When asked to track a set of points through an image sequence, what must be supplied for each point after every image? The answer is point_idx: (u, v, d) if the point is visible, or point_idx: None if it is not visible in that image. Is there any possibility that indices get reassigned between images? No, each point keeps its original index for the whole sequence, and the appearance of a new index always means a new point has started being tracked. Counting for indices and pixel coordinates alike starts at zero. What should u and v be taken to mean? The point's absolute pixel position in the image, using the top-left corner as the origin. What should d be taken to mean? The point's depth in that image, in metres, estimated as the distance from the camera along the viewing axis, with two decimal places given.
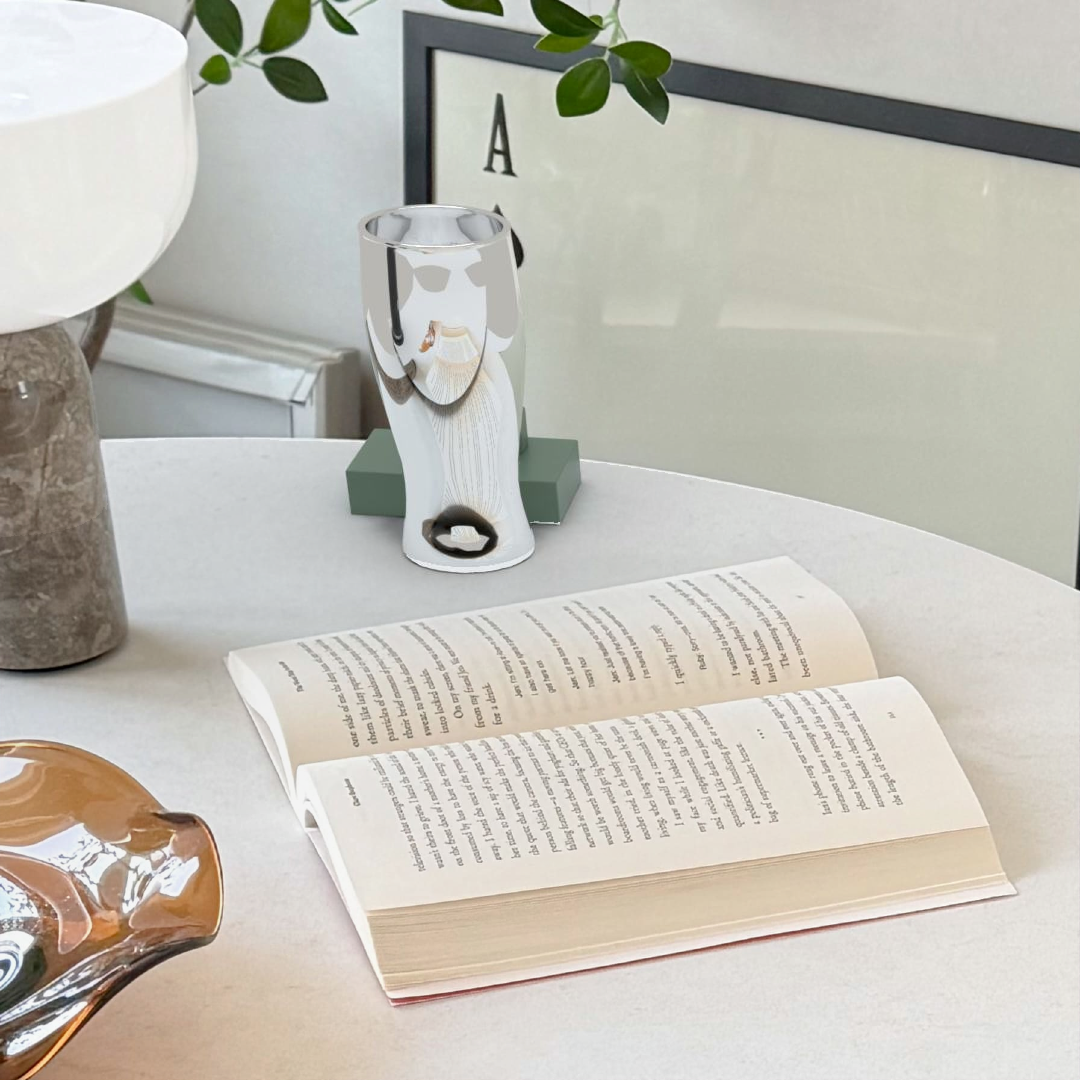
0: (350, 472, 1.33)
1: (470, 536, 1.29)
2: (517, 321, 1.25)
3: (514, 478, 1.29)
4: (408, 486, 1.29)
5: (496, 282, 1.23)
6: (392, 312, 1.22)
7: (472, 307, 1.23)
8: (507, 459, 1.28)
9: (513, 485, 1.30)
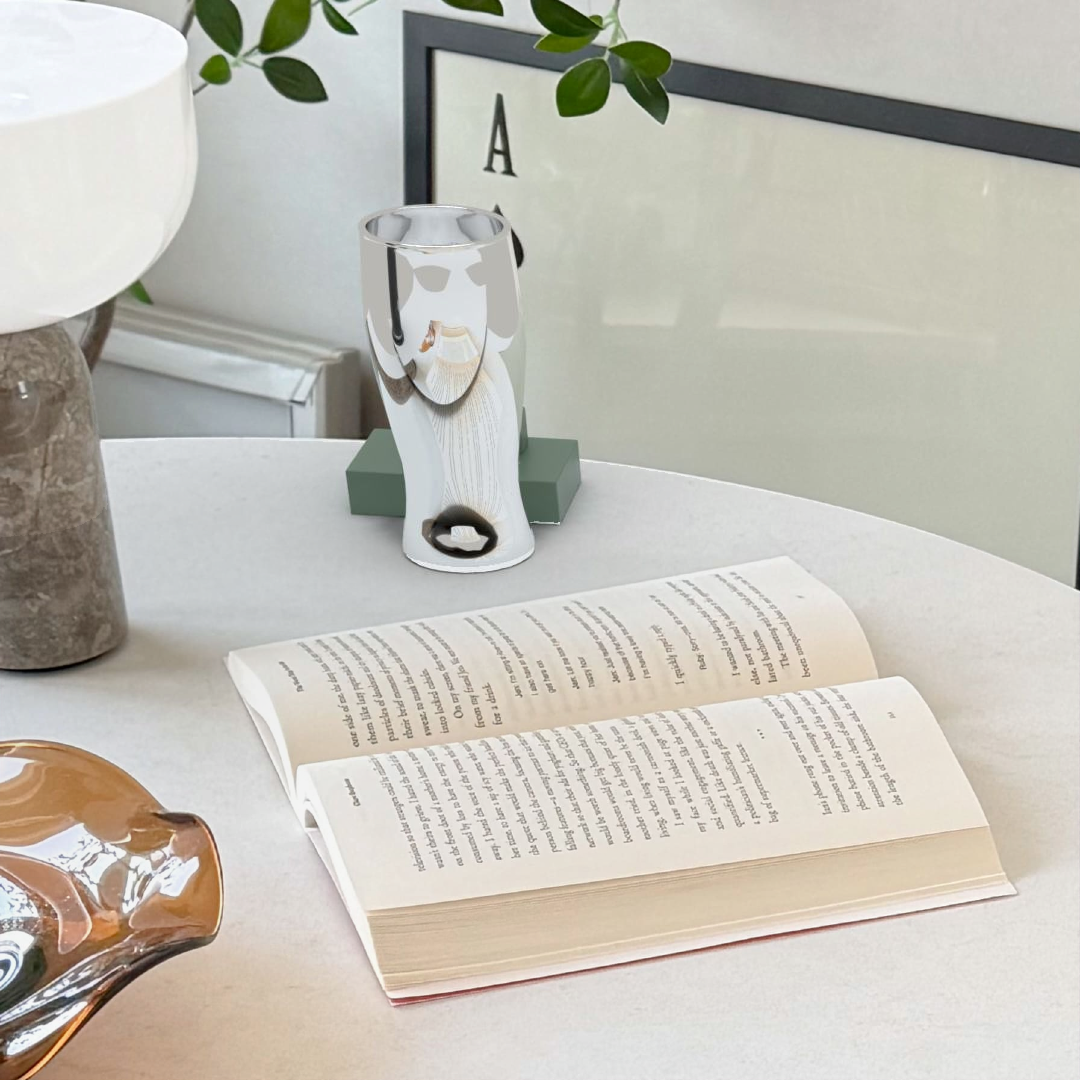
0: (350, 472, 1.33)
1: (470, 536, 1.29)
2: (517, 321, 1.25)
3: (514, 478, 1.29)
4: (408, 486, 1.29)
5: (496, 282, 1.23)
6: (392, 312, 1.22)
7: (472, 307, 1.23)
8: (507, 459, 1.28)
9: (513, 485, 1.30)
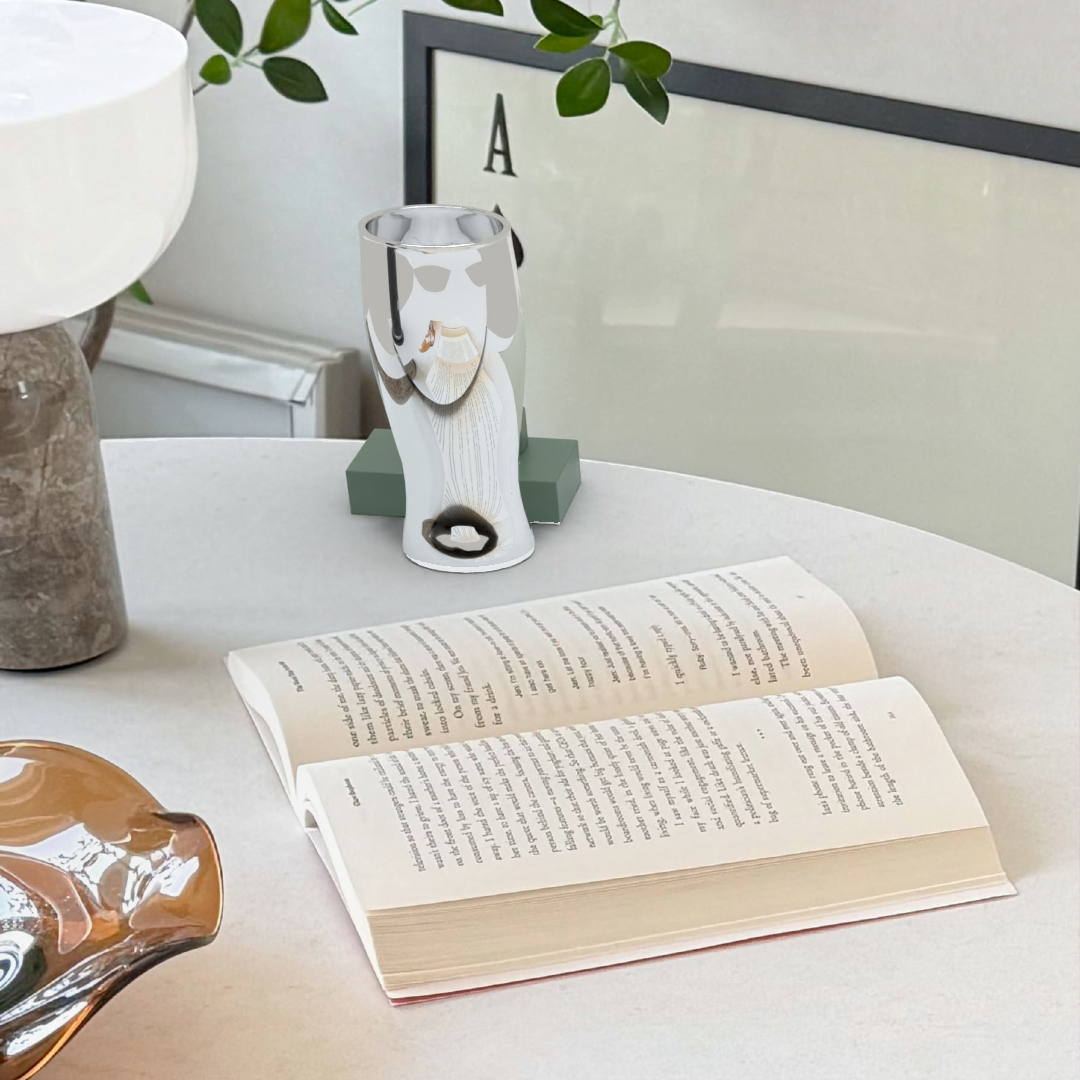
0: (350, 472, 1.33)
1: (470, 536, 1.29)
2: (517, 321, 1.25)
3: (514, 478, 1.29)
4: (408, 486, 1.29)
5: (496, 282, 1.23)
6: (392, 312, 1.22)
7: (472, 307, 1.23)
8: (507, 459, 1.28)
9: (513, 485, 1.30)
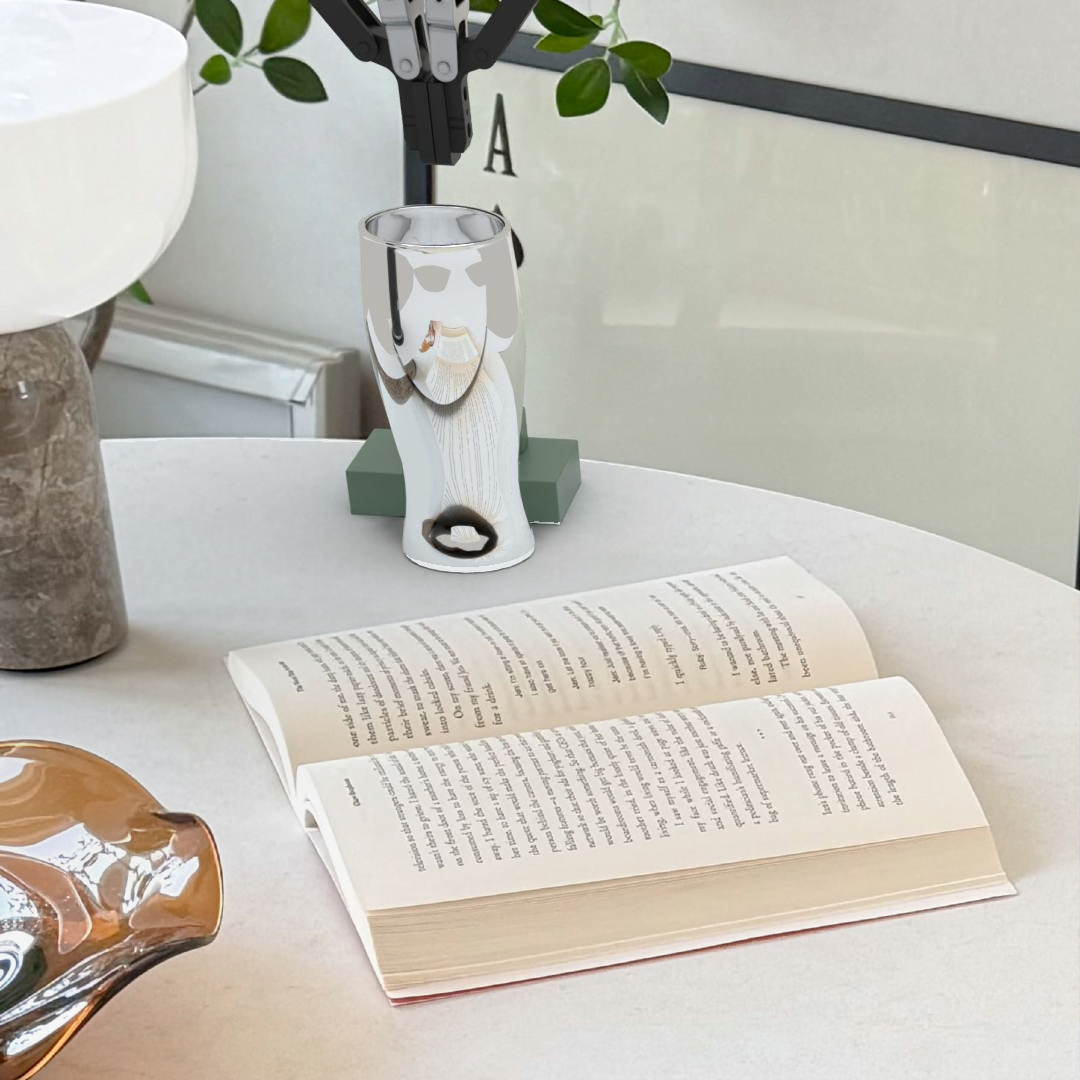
0: (350, 472, 1.33)
1: (470, 536, 1.29)
2: (517, 321, 1.25)
3: (514, 478, 1.29)
4: (408, 486, 1.29)
5: (496, 282, 1.23)
6: (392, 312, 1.22)
7: (472, 307, 1.23)
8: (507, 459, 1.28)
9: (513, 485, 1.30)
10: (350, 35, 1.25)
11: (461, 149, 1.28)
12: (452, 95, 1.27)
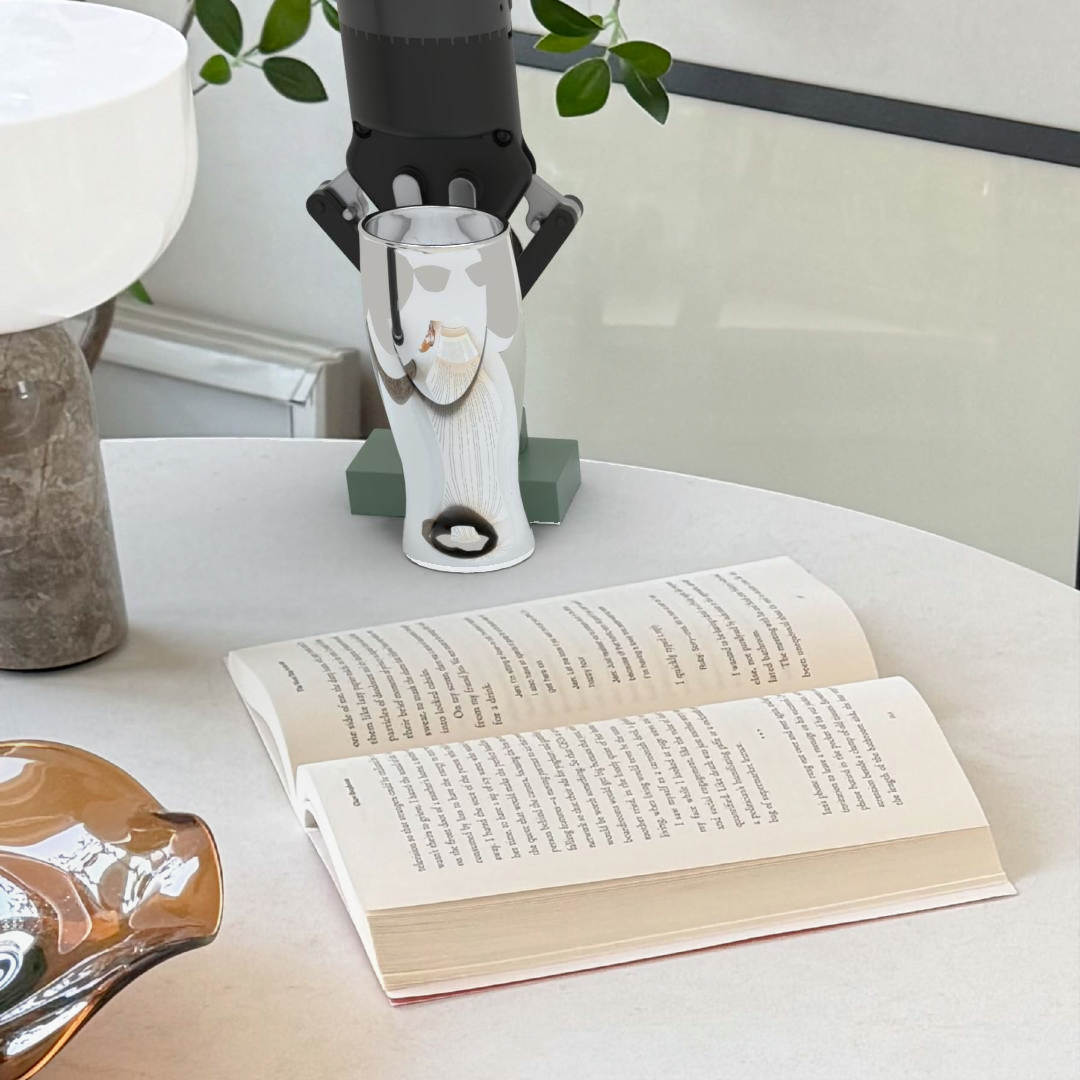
0: (350, 472, 1.33)
1: (470, 536, 1.29)
2: (517, 321, 1.25)
3: (514, 478, 1.29)
4: (408, 486, 1.29)
5: (496, 282, 1.23)
6: (392, 312, 1.22)
7: (472, 307, 1.23)
8: (507, 459, 1.28)
9: (513, 485, 1.30)
10: None
11: None
12: None
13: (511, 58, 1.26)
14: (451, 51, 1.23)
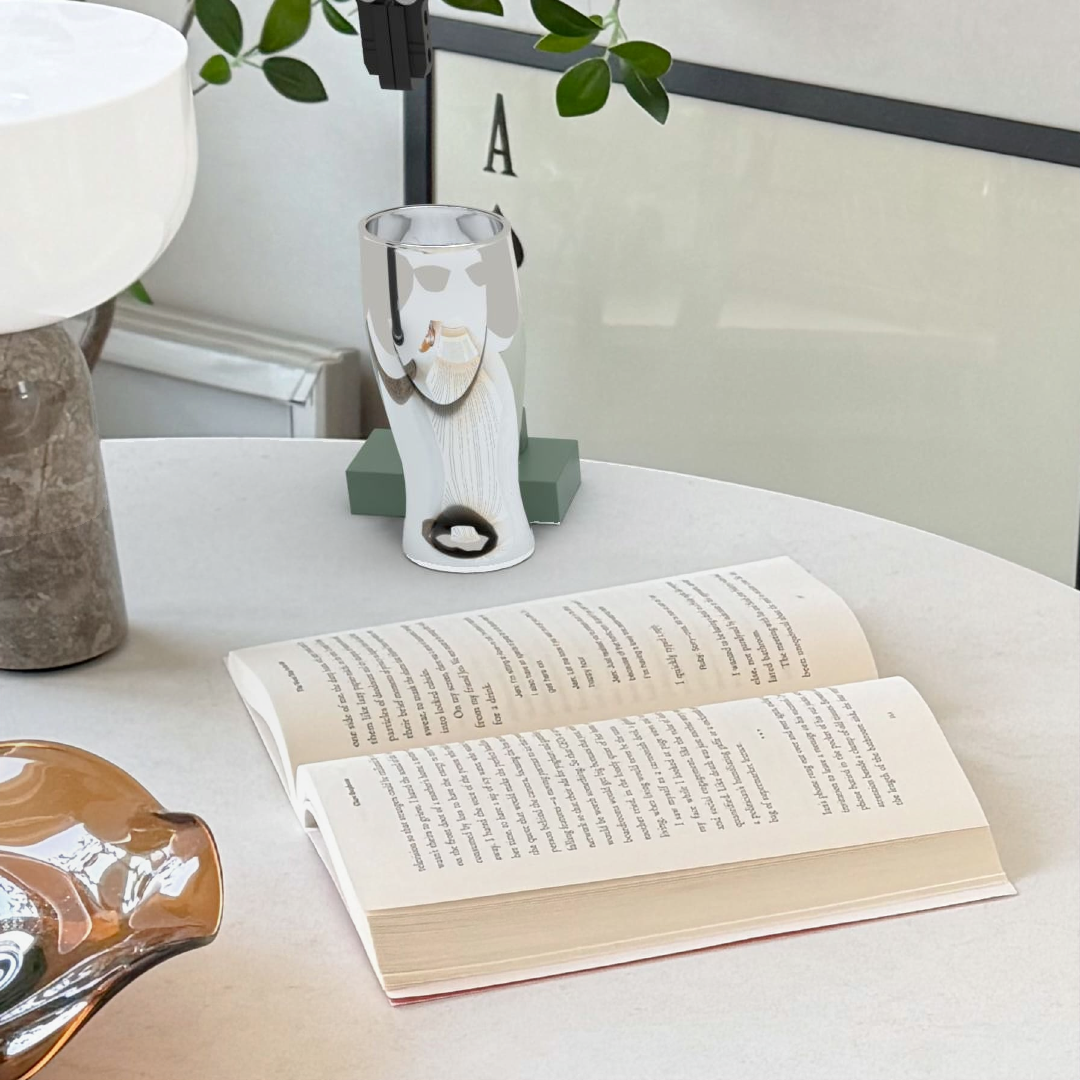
0: (350, 472, 1.33)
1: (470, 536, 1.29)
2: (517, 321, 1.25)
3: (514, 478, 1.29)
4: (408, 486, 1.29)
5: (496, 282, 1.23)
6: (392, 312, 1.22)
7: (472, 307, 1.23)
8: (507, 459, 1.28)
9: (513, 485, 1.30)
10: None
11: (421, 74, 1.27)
12: (412, 19, 1.25)
13: None
14: None
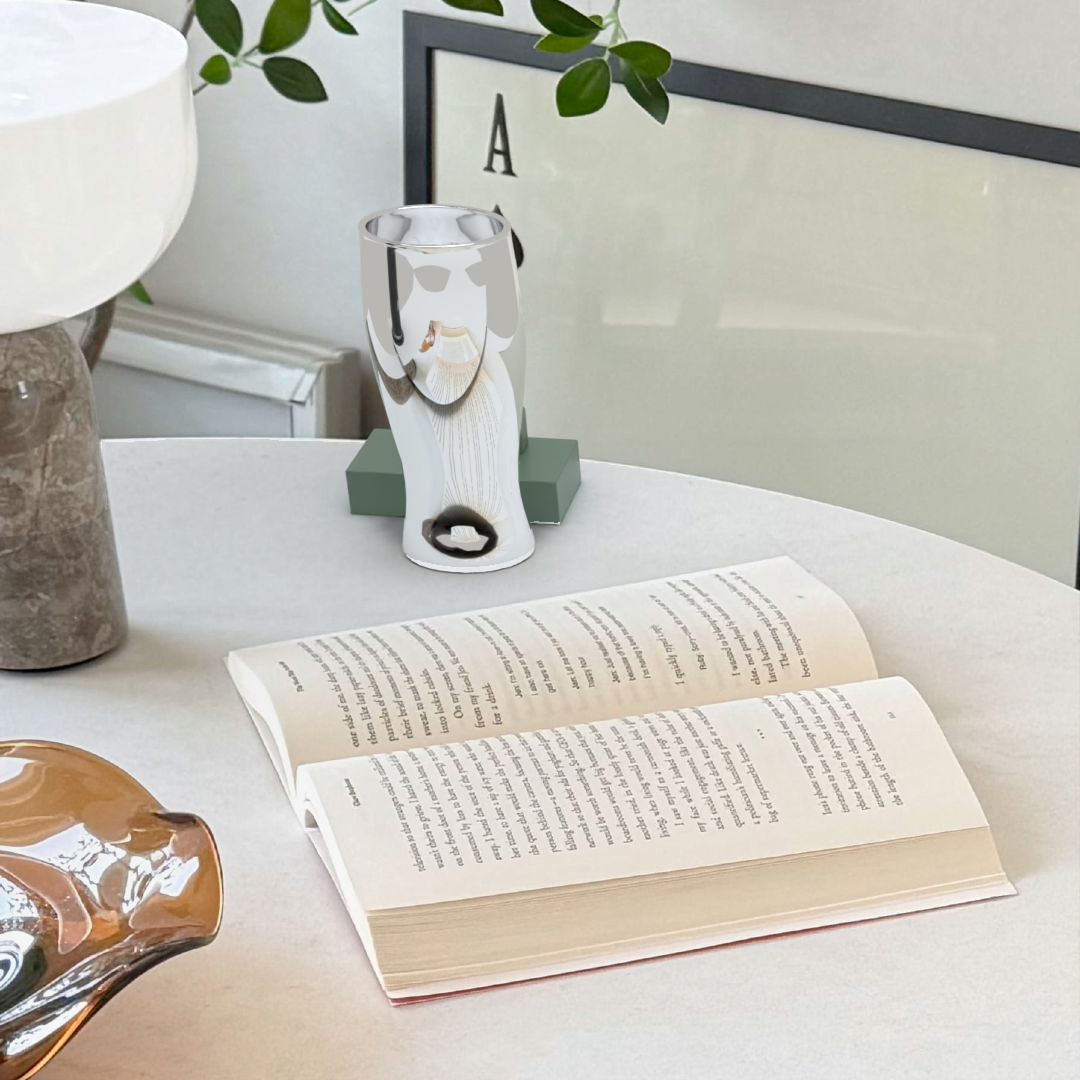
0: (350, 472, 1.33)
1: (470, 536, 1.29)
2: (517, 321, 1.25)
3: (514, 478, 1.29)
4: (408, 486, 1.29)
5: (496, 282, 1.23)
6: (392, 312, 1.22)
7: (472, 307, 1.23)
8: (507, 459, 1.28)
9: (513, 485, 1.30)
10: None
11: None
12: None
13: None
14: None
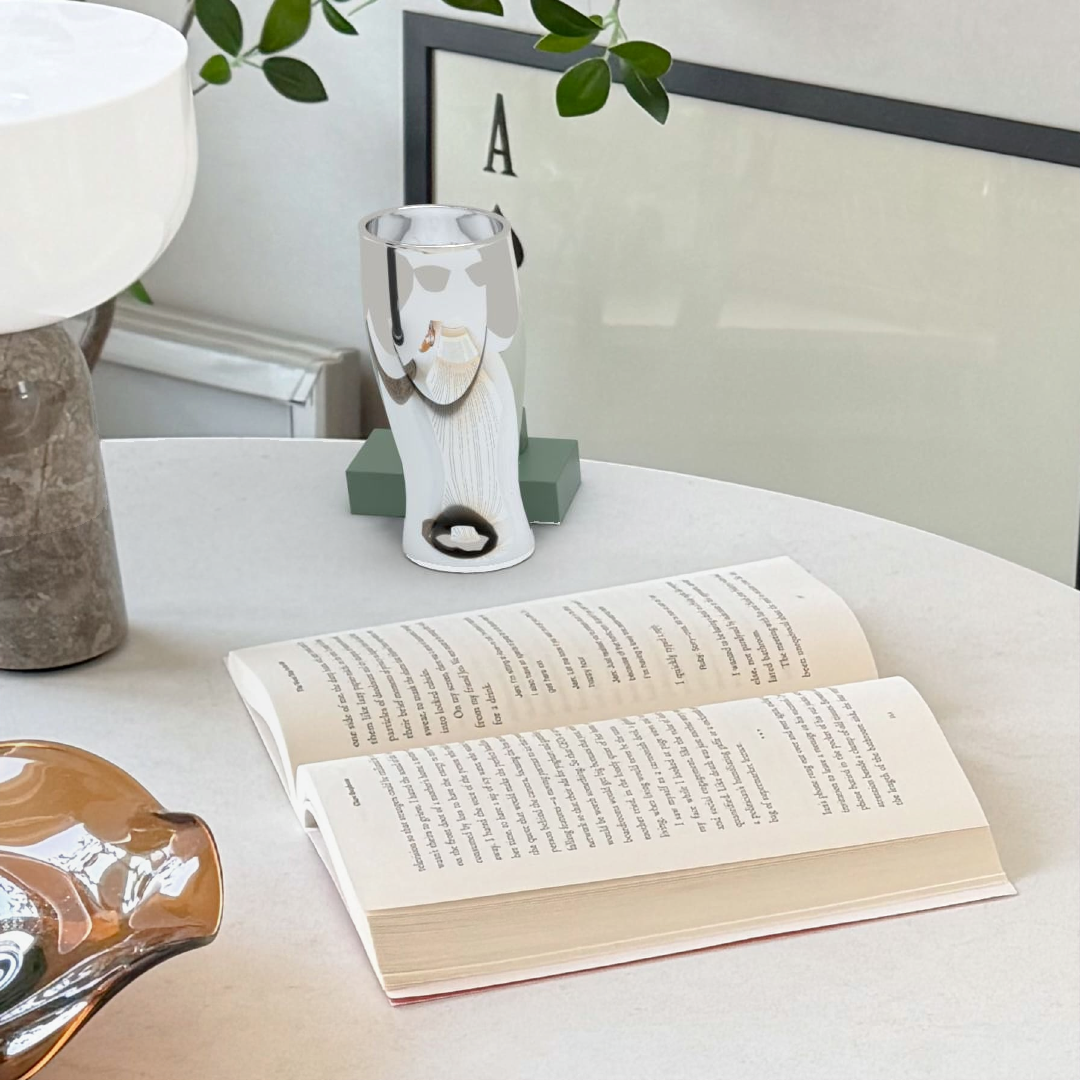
0: (350, 472, 1.33)
1: (470, 536, 1.29)
2: (517, 321, 1.25)
3: (514, 478, 1.29)
4: (408, 486, 1.29)
5: (496, 282, 1.23)
6: (392, 312, 1.22)
7: (472, 307, 1.23)
8: (507, 459, 1.28)
9: (513, 485, 1.30)
10: None
11: None
12: None
13: None
14: None
